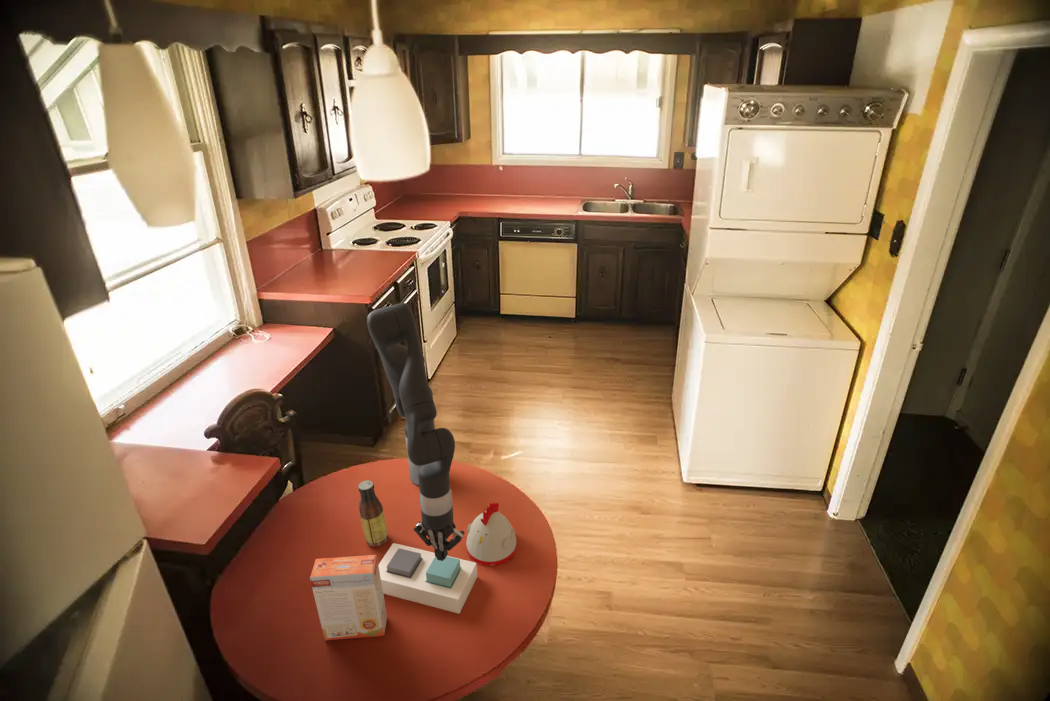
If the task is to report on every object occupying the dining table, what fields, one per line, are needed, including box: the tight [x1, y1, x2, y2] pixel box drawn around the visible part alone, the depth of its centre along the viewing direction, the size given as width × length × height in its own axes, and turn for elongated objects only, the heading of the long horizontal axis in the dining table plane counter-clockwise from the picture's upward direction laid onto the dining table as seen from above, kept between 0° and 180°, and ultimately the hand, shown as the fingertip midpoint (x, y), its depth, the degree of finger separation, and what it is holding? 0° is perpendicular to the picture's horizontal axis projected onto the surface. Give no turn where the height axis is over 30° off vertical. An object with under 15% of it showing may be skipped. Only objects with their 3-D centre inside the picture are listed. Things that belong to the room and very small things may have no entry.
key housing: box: [378, 542, 478, 614], centre depth 154 cm, size 12×24×5 cm, turn 73°
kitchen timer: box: [465, 502, 518, 567], centre depth 163 cm, size 14×14×15 cm
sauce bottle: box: [357, 479, 389, 548], centre depth 164 cm, size 7×6×20 cm
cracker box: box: [309, 554, 388, 641], centre depth 138 cm, size 14×6×21 cm, turn 94°
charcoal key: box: [387, 548, 422, 578], centre depth 154 cm, size 6×6×4 cm
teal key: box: [426, 556, 461, 589], centre depth 151 cm, size 6×6×4 cm
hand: (441, 558), depth 148 cm, fingers closed
